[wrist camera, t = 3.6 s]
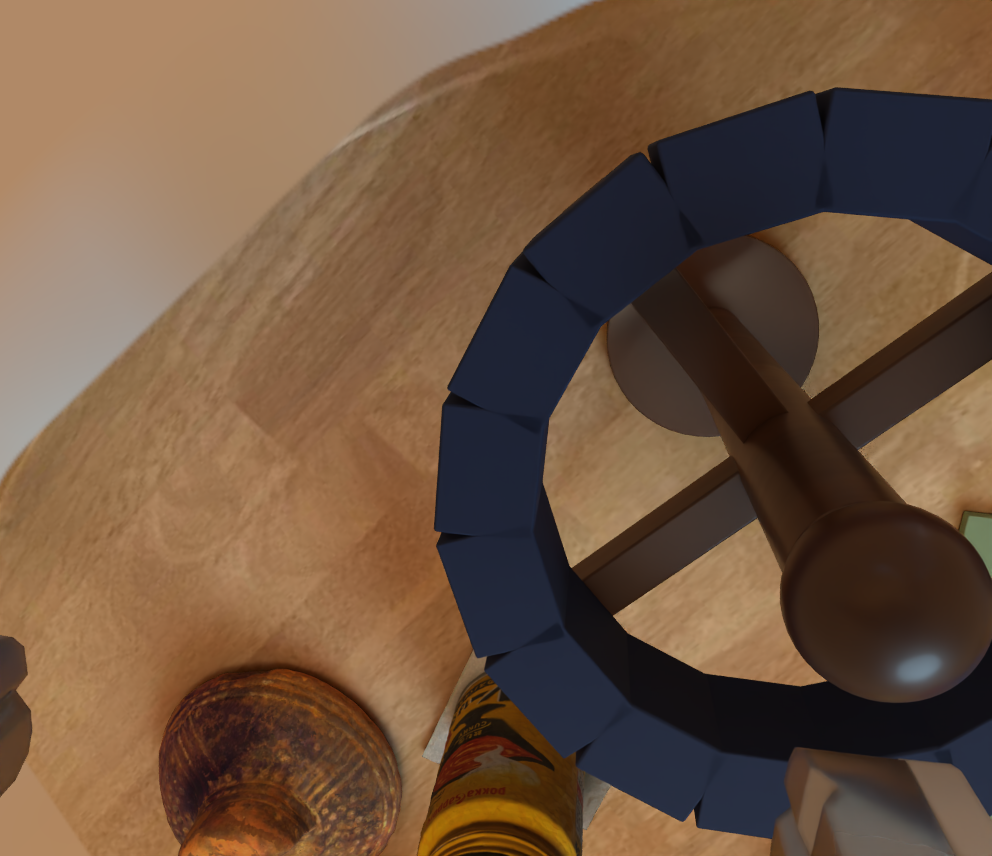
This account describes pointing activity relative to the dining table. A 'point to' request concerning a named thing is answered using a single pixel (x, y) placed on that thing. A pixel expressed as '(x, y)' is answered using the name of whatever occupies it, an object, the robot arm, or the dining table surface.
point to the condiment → (502, 780)
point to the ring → (545, 376)
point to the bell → (276, 770)
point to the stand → (803, 469)
